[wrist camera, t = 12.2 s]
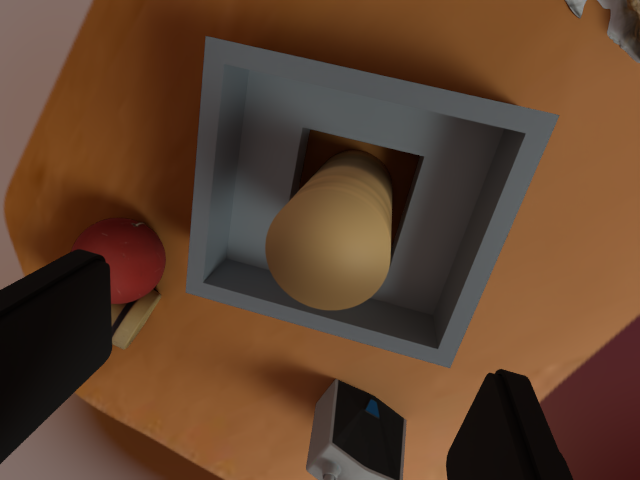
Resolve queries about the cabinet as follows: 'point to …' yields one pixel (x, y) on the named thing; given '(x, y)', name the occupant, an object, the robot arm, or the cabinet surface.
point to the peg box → (375, 128)
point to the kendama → (127, 271)
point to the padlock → (355, 437)
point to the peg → (334, 234)
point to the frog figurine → (619, 23)
